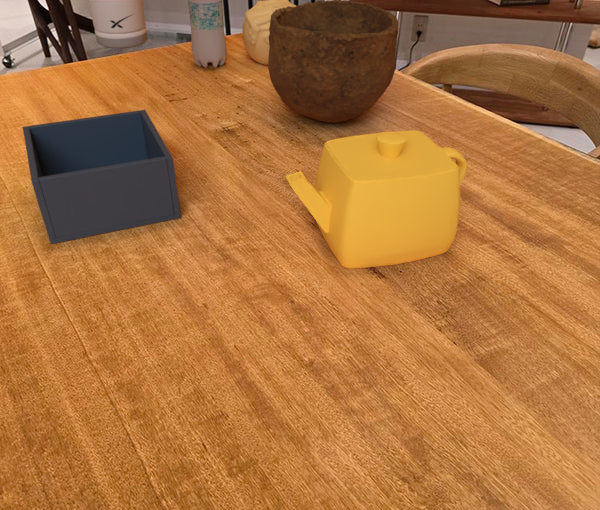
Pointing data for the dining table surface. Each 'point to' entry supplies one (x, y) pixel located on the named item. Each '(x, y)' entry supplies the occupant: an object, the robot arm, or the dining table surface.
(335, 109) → the bowl
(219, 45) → the bottle
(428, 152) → the teapot
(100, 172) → the box
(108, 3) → the travel mug
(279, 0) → the sculpture
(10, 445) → the dining table surface
